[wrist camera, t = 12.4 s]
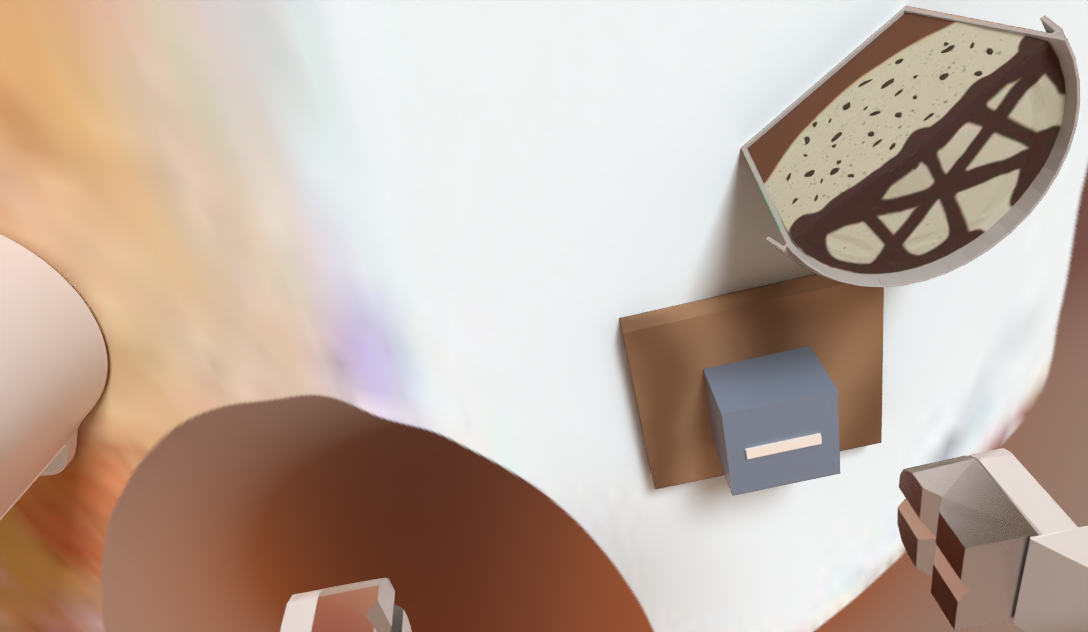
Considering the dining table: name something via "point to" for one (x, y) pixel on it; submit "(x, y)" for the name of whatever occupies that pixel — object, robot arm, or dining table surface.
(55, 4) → the dining table surface
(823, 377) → the grey drawer unit
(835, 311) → the board
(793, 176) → the food container
